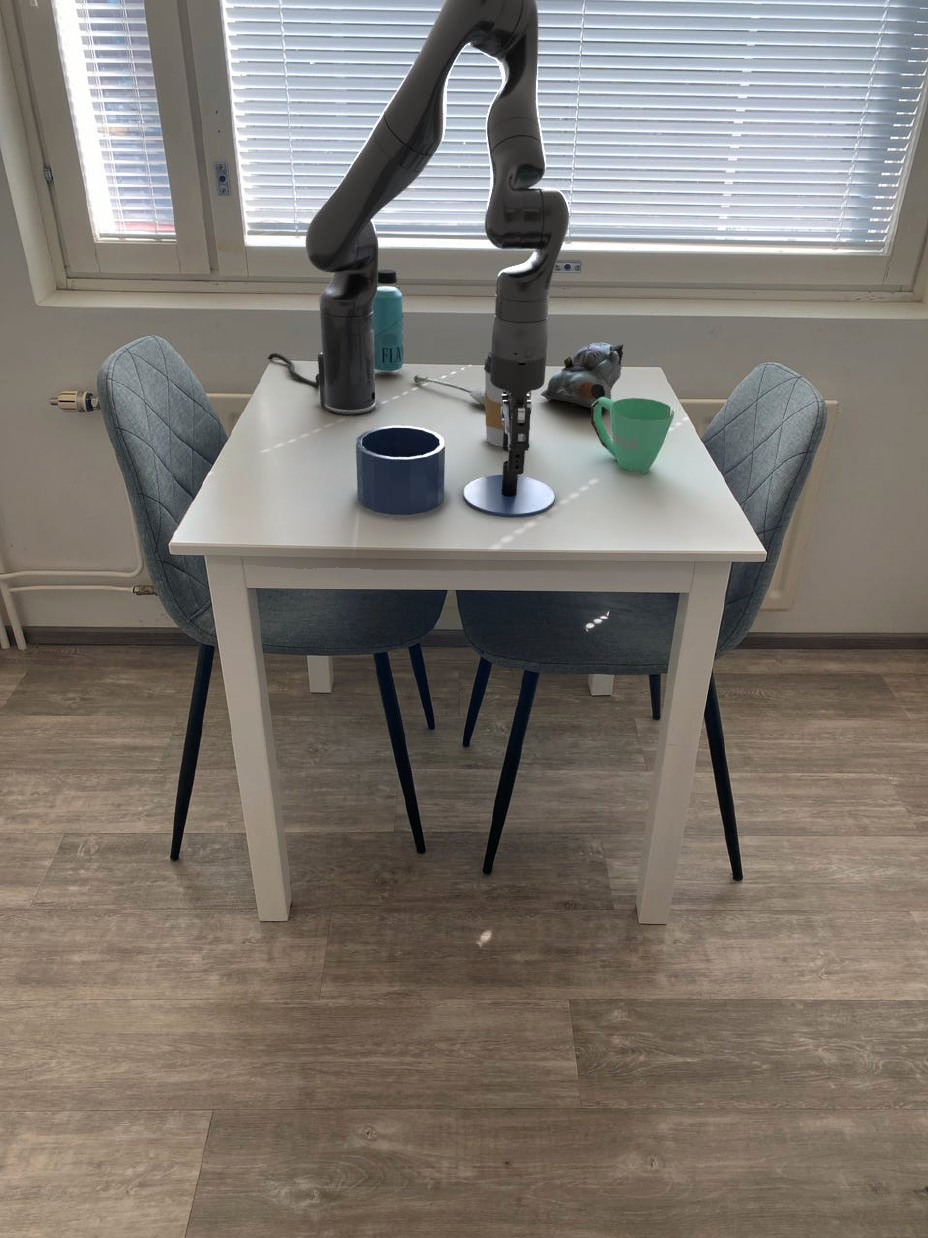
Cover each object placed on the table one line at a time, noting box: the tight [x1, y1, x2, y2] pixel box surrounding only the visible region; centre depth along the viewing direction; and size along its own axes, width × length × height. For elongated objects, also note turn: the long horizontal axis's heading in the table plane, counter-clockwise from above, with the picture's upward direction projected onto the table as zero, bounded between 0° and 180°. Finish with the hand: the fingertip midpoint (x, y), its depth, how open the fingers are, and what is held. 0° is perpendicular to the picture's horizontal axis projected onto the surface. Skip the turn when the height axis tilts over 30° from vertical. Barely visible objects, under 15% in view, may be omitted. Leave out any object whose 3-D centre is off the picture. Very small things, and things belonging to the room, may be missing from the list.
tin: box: [355, 425, 446, 516], centre depth 130 cm, size 13×13×9 cm
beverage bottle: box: [373, 268, 404, 372], centre depth 176 cm, size 6×7×20 cm
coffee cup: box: [483, 351, 532, 448], centre depth 148 cm, size 8×8×15 cm
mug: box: [590, 397, 675, 475], centre depth 144 cm, size 15×10×10 cm
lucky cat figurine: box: [540, 342, 624, 415], centre depth 166 cm, size 15×12×14 cm
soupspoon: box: [413, 374, 485, 407], centre depth 171 cm, size 22×3×7 cm
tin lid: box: [462, 460, 556, 518], centre depth 132 cm, size 14×14×6 cm
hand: (512, 461), depth 130 cm, fingers open, 8 cm apart
